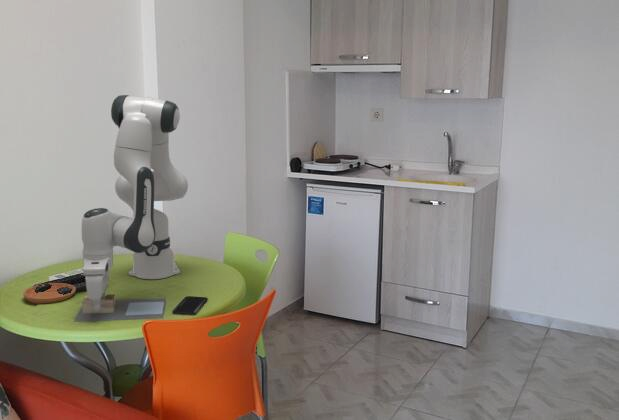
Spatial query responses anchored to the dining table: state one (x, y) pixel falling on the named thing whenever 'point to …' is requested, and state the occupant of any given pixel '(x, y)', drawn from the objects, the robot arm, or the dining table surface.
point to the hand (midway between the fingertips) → (100, 304)
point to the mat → (128, 311)
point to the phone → (190, 305)
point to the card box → (106, 304)
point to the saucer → (48, 294)
